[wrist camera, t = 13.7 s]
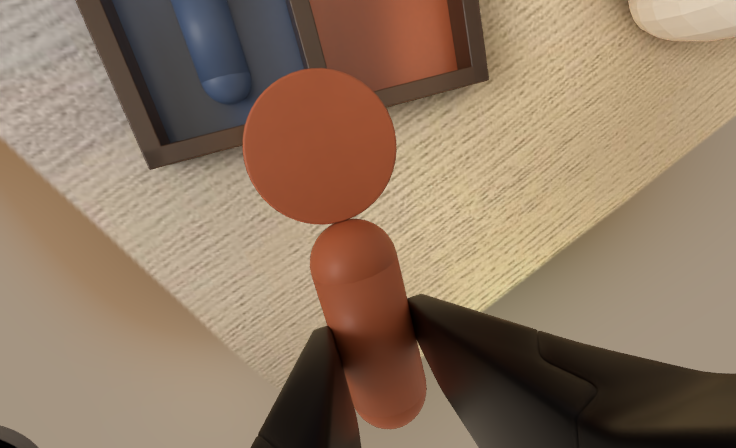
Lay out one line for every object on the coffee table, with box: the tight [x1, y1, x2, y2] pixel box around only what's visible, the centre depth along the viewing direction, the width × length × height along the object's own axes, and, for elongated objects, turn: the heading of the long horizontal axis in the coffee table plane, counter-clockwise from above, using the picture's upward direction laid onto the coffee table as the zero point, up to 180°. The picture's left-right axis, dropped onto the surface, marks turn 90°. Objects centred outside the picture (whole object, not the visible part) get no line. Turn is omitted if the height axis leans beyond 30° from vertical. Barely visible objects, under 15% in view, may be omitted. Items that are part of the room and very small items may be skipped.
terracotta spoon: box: [243, 68, 427, 429], centre depth 8 cm, size 9×3×2 cm, turn 14°
